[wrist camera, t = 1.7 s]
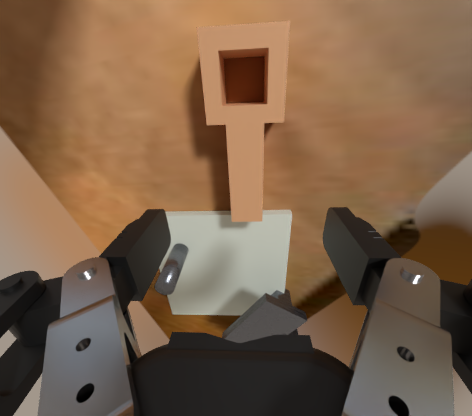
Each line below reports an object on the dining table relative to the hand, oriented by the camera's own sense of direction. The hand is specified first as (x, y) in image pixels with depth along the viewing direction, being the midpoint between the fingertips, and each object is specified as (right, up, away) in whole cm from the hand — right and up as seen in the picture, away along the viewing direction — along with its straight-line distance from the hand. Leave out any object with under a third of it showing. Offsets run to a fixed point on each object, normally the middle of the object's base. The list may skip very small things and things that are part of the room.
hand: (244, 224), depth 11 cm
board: (-2, -7, +19) cm, 20 cm away
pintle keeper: (0, -9, +19) cm, 21 cm away
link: (0, +8, +10) cm, 13 cm away
